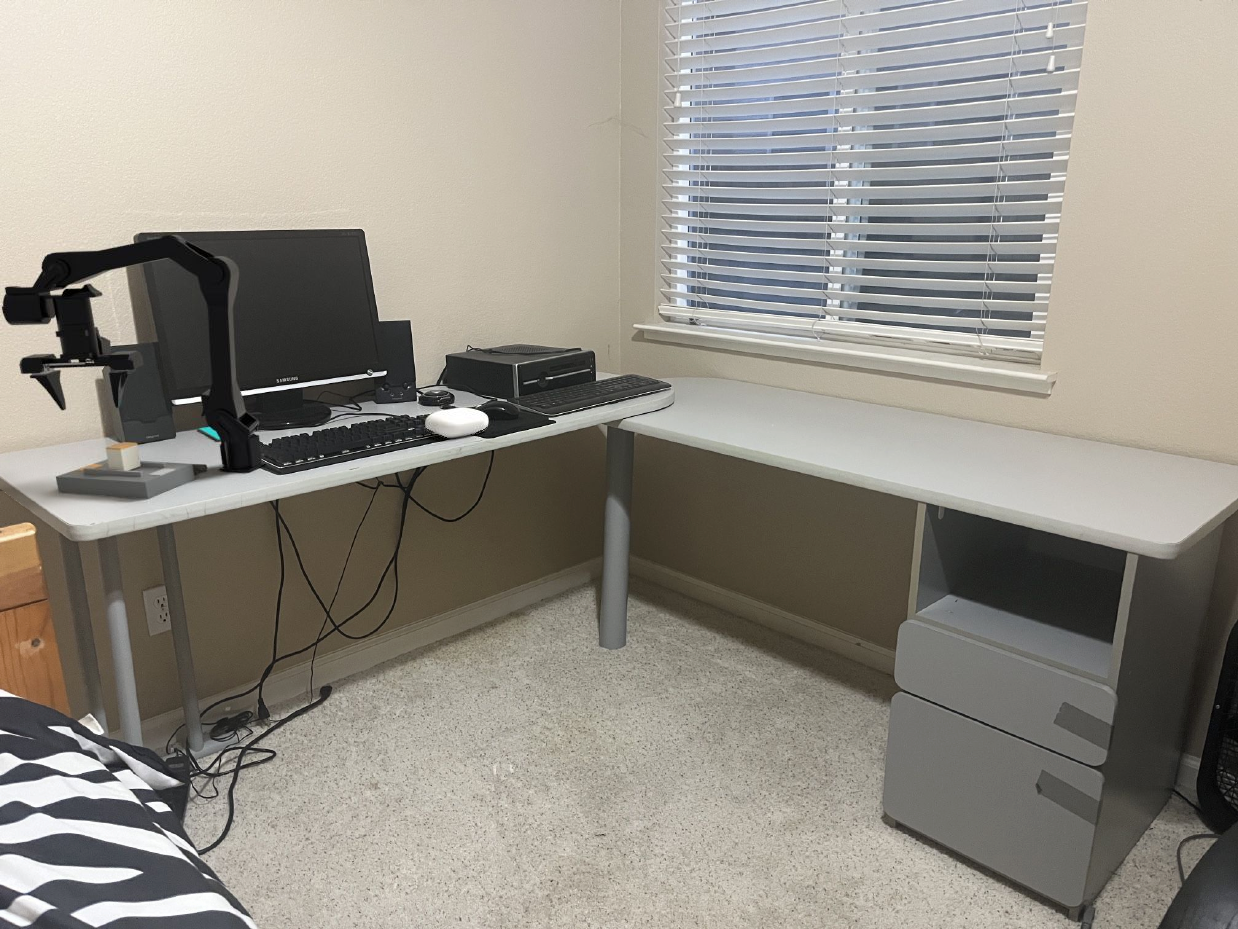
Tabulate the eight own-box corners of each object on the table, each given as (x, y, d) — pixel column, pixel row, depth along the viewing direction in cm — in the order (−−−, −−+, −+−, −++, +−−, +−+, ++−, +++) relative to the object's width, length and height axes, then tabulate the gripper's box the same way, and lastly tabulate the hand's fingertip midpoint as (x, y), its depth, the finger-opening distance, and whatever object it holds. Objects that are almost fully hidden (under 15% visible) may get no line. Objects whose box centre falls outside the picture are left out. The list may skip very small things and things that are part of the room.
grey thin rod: (207, 470, 166) (206, 463, 166) (203, 472, 165) (202, 465, 165) (141, 468, 168) (140, 461, 168) (136, 470, 167) (135, 463, 166)
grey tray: (194, 479, 160) (191, 459, 159) (147, 499, 149) (144, 477, 148) (110, 474, 164) (107, 454, 163) (58, 493, 153) (54, 472, 152)
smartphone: (230, 423, 204) (252, 434, 193) (230, 427, 204) (252, 438, 193) (196, 428, 199) (217, 439, 188) (197, 431, 199) (218, 443, 188)
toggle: (140, 465, 157) (137, 442, 156) (124, 471, 153) (120, 448, 152) (126, 465, 158) (122, 442, 157) (109, 471, 154) (105, 447, 153)
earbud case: (420, 435, 195) (418, 411, 193) (469, 426, 203) (468, 403, 202) (445, 442, 187) (443, 418, 186) (494, 433, 196) (493, 409, 195)
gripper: (146, 317, 165) (159, 398, 170) (39, 320, 162) (54, 402, 166) (125, 323, 155) (139, 409, 159) (10, 327, 152) (27, 414, 156)
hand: (91, 408), depth 160 cm, fingers open, 9 cm apart
